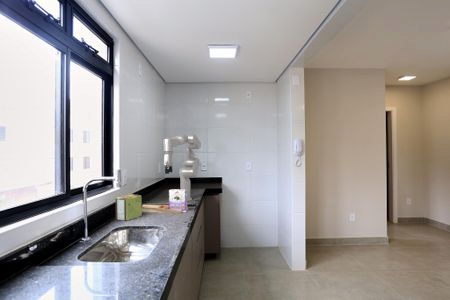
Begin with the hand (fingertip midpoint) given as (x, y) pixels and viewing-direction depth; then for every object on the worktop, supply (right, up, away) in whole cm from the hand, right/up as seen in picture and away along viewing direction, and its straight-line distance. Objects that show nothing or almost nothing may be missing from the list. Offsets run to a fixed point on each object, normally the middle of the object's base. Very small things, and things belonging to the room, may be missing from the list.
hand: (168, 173), depth 218 cm
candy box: (+10, -29, -11) cm, 33 cm away
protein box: (-23, -30, -31) cm, 49 cm away
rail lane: (-4, -29, -10) cm, 31 cm away
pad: (+10, -29, -11) cm, 33 cm away
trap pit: (-2, -29, -10) cm, 31 cm away
